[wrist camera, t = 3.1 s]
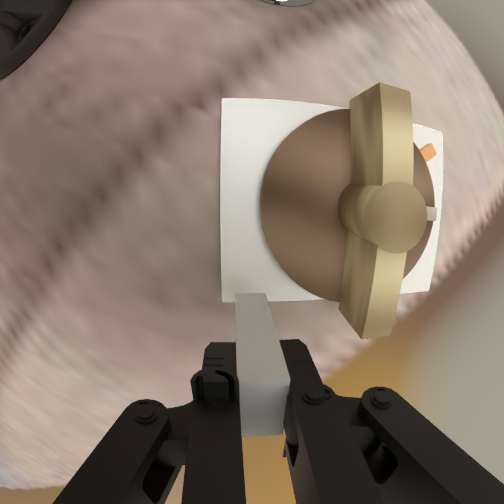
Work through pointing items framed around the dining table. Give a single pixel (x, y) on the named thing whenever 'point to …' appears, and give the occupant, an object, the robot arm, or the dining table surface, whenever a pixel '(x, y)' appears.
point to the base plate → (249, 185)
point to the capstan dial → (351, 206)
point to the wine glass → (289, 2)
